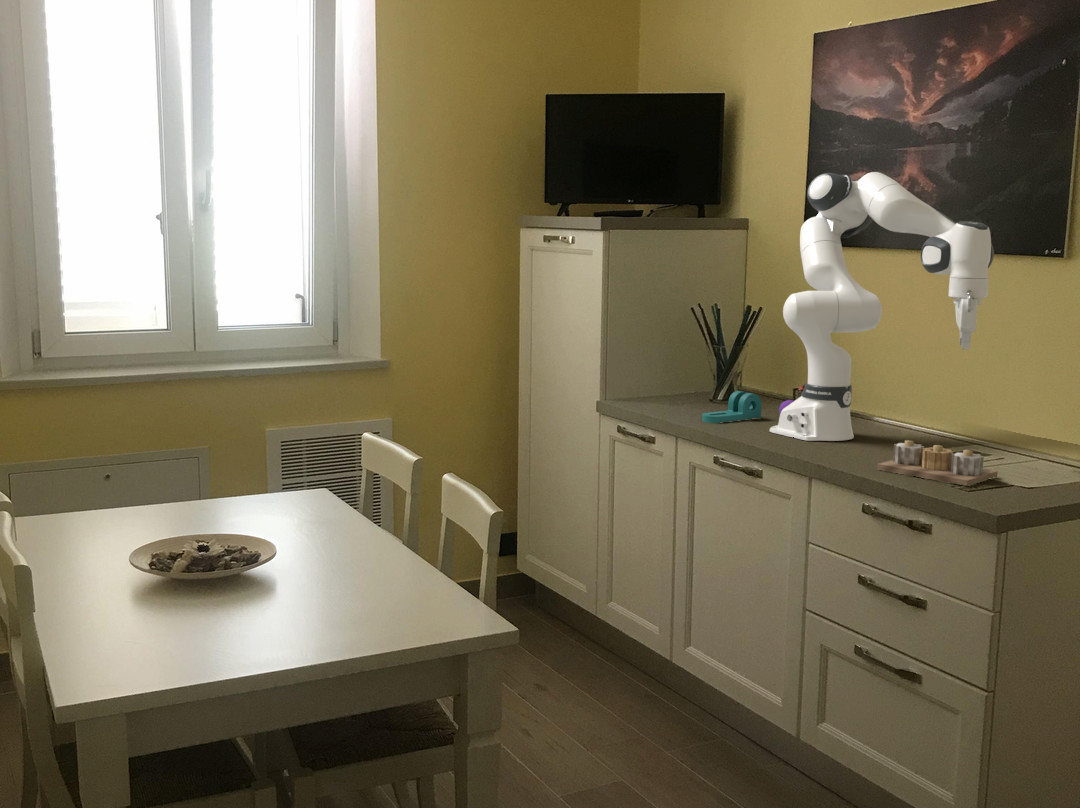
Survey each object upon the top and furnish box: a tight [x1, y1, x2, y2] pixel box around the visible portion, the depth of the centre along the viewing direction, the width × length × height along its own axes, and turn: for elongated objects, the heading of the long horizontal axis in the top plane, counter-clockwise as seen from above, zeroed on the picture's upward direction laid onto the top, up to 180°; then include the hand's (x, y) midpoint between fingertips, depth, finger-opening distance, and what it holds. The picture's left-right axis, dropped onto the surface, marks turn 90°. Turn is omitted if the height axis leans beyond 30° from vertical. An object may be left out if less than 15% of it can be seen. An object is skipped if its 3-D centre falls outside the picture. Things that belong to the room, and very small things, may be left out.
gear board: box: [876, 439, 999, 485], centre depth 255 cm, size 22×14×6 cm, turn 42°
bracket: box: [701, 390, 762, 424], centre depth 323 cm, size 18×7×8 cm, turn 120°
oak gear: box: [922, 446, 954, 471], centre depth 255 cm, size 7×7×4 cm
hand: (964, 347), depth 269 cm, fingers open, 8 cm apart
